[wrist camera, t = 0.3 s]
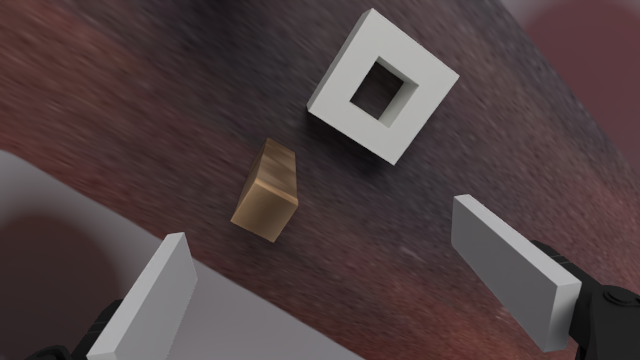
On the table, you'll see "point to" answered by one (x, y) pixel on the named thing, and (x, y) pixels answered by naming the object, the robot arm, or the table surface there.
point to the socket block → (407, 105)
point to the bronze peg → (268, 192)
